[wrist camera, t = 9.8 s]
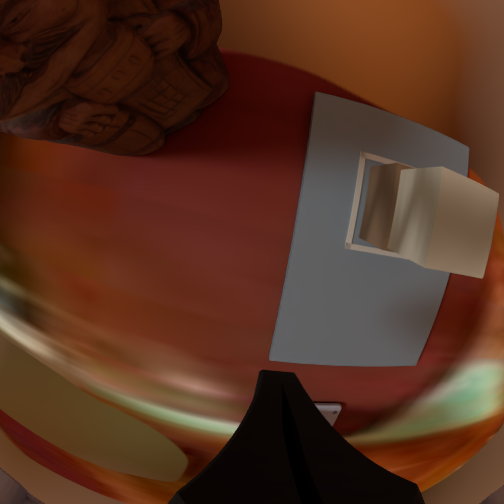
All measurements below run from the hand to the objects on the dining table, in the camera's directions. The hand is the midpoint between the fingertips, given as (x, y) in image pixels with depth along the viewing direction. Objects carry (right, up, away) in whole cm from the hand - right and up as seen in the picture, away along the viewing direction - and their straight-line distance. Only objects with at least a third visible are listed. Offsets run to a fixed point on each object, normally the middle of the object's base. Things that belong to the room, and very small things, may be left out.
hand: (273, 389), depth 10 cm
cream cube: (+9, +7, +4) cm, 12 cm away
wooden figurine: (-8, +16, +7) cm, 19 cm away
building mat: (+9, +6, +9) cm, 14 cm away
